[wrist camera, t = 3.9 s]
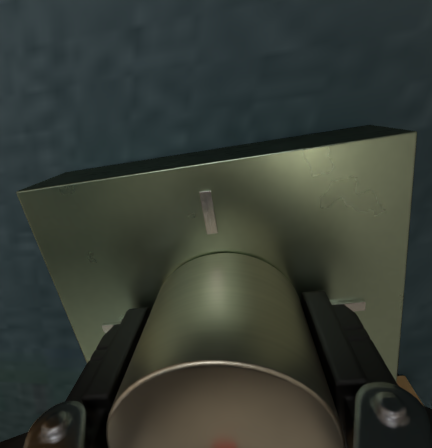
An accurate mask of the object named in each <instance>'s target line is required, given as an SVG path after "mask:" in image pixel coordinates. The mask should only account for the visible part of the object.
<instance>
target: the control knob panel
mask: <svg viewBox="0 0 432 448" xmlns="http://www.w3.org/2000/svg"><path fill="white" fill-rule="evenodd" d="M416 140H417V132H416V131H411V130H403V129H396V128H389V127H381V126H374V125H366V126H360V127H354V128H347V129H341V130H334V131H328V132H321V133H315V134H309V135H302V136H296V137H289V138H283V139H277V140H270V141H264V142H257V143H251V144H244V145H238V146H232V147H225V148H219V149H212V150H206V151H200V152H193V153H187V154H180V155H174V156H168V157H161V158H155V159H148V160H142V161H135V162H129V163H123V164H116V165H110V166H103V167H97V168H91V169H84V170H78V171H71V172H66V173H63V174H60V175H58V176H55V177H53V178H50V179H48V180H45V181H42V182H40V183H37V184H35V185H32V186H30V187H27V188H24V189H22V190H19V191H17V195H18V198H19V200H20V203H21V205H22V208H23V210H24V212H25V215H26V217H27V220H28V222H29V224H30V227H31V229H32V232H33V234H34V236H35V239H36V241H37V244H38V246H39V248H40V251H41V253H42V256H43V258H44V260H45V263H46V265H47V268H48V270H49V272H50V275H51V277H52V280H53V282H54V284H55V287H56V289H57V292H58V294H59V296H60V299H61V301H62V304H63V306H64V309H65V311H66V313H67V316H68V318H69V321H70V323H71V325H72V328H73V330H74V333H75V335H76V337H77V340H78V342H79V345H80V347H81V349H82V352H83V354H84V357H85V359H86V361H87V363H88V361H90V358H91V356H92V354H93V353H94V351H95V350H96V347H97V346H98V344H99V342H100V340H101V339H102V337H103V335H104V334H105V333H107V332H108V331H109V330H110V329H111V328H112V327H113V326H114V325H116V324H120V323H121V321H122V320H123V318H124V316H125V314H126V312H127V310H128V309H132V308H143V307H151V309H152V308H153V305H154V303H155V300H156V298H157V295H158V293H159V291H160V289H161V287H162V285H163V284H164V282H165V281H166V279H167V278H168V277H169V276H170V275H171V274H172V273H173V272H174V271H175V270H176V269H178V268H179V267H180V266H182V265H184V264H185V263H187V262H189V261H191V260H193V259H196V258H199V257H202V256H205V255H210V254H216V253H237V254H243V255H248V256H251V257H254V258H257V259H259V260H262V261H264V262H266V263H268V264H270V265H271V266H273V267H275V268H276V269H277V270H279V271H280V272H281V273H282V274H283V275H284V276H285V277H286V278H287V279H288V280H289V281H290V282H291V284H292V285H293V287H294V288H295V290H296V292H297V294H298V296H299V299H300V302H301V305H302V301H301V293H302V292H311V291H321V290H324V291H325V292H326V294H327V296H328V298H329V300H330V302H331V304H332V305H339V304H344V305H345V306H347V307H348V308H349V309H351V310H352V311H353V312H355V313H356V314H357V316H358V318H359V319H360V321H361V323H362V324H363V326H364V329H365V330H366V331H367V333H368V335H369V336H370V340H372V341H373V343H374V345H375V347H376V348H377V350H378V352H379V353H380V355H381V357H382V359H383V360H384V362H385V364H386V365H387V367H388V369H389V371H390V372H391V374H392V376H393V377H394V379H395V381H396V382H397V371H398V358H399V346H400V334H401V322H402V310H403V298H404V286H405V273H406V261H407V249H408V237H409V225H410V213H411V201H412V188H413V176H414V164H415V152H416Z"/></svg>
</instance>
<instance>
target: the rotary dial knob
mask: <svg viewBox="0 0 432 448" xmlns="http://www.w3.org/2000/svg"><path fill="white" fill-rule="evenodd" d="M106 439H107V446H108V448H345V438H344V432H343V428H342V425H341V422H340V419H339V416H338V413H337V410H336V407H335V404H334V401H333V398H332V395H331V392H330V389H329V386H328V383H327V380H326V377H325V374H324V371H323V368H322V365H321V362H320V359H319V356H318V353H317V350H316V347H315V344H314V341H313V338H312V335H311V332H310V329H309V326H308V323H307V320H306V317H305V314H304V311H303V308H302V305H301V302H300V299H299V296H298V294H297V292H296V290H295V288H294V287H293V285H292V284H291V282H290V281H289V280H288V279H287V278H286V277H285V276H284V275H283V274H282V273H281V272H280V271H279V270H277V269H276V268H275V267H273V266H271V265H270V264H268V263H266V262H264V261H262V260H259V259H257V258H254V257H251V256H248V255H243V254H237V253H216V254H210V255H205V256H202V257H199V258H196V259H193V260H191V261H189V262H187V263H185V264H184V265H182V266H180V267H179V268H178V269H176V270H175V271H174V272H173V273H172V274H171V275H170V276H169V277H168V278H167V279H166V281H165V282H164V284H163V285H162V287H161V289H160V291H159V293H158V295H157V298H156V300H155V303H154V305H153V308H152V310H151V312H150V315H149V317H148V320H147V322H146V325H145V327H144V329H143V332H142V334H141V337H140V339H139V342H138V344H137V346H136V349H135V351H134V354H133V356H132V359H131V361H130V363H129V366H128V368H127V371H126V373H125V376H124V378H123V380H122V383H121V385H120V388H119V390H118V393H117V395H116V397H115V400H114V402H113V405H112V407H111V410H110V412H109V415H108V419H107V423H106Z"/></svg>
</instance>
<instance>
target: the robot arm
mask: <svg viewBox="0 0 432 448" xmlns="http://www.w3.org/2000/svg"><path fill="white" fill-rule="evenodd" d="M301 301H302V308H303V311H304V314H305V317H306V320H307V323H308V326H309V329H310V332H311V335H312V338H313V341H314V344H315V347H316V350H317V353H318V356H319V359H320V362H321V365H322V368H323V371H324V374H325V377H326V380H327V383H328V386H329V389H330V392H331V395H332V398H333V401H334V404H335V407H336V410H337V413H338V416H339V419H340V422H341V425H342V428H343V432H344V438H345V448H432V409H430V408H428V407H425V406H423V405H422V404H421V403H420V401H419V400H418V399H417V398H416V397H415V396H413V395H412V394H411V393H409V392H408V391H407V390H405V389H403V388H401V387H399V385H398V384H397V382H396V381H395V379H394V377H393V376H392V374H391V372H390V371H389V369H388V367H387V365H386V364H385V362H384V360H383V359H382V357H381V355H380V353H379V352H378V350H377V348H376V347H375V345H374V343H373V341H372V340H370V336H369V335H368V333H367V331H366V330H365V329H364V326H363V324H362V323H361V321H360V319H359V318H358V316H357V314H356V313H355V312H353V311H352V310H351V309H349V308H348V307H347V306H345V305H344V304H339V305H332V304H331V302H330V300H329V298H328V296H327V294H326V292H325V291H324V290H321V291H311V292H302V293H301ZM151 310H152V309H151V307H143V308H132V309H128V310H127V312H126V314H125V316H124V318H123V320H122V321H121V323H120V324H116V325H114V326H113V327H112V328H111V329H110V330H109V331H108V332H107V333H105V334H104V335H103V337H102V339H101V340H100V342H99V344H98V346H97V347H96V350H95V351H94V353H93V354H92V356H91V358H90V361H88V363H87V365H86V366H85V368H84V370H83V372H82V373H81V375H80V377H79V379H78V380H77V382H76V384H75V386H74V387H73V389H72V391H71V392H70V394H69V396H68V398H67V399H66V401H65V402H62V403H59V404H57V405H55V406H53V407H52V408H50V409H49V410H47V411H46V412H45V413H43V414H42V415H41V416H40V417H39V418H38V419H37V420H36V421H35V423H34V424H33V425H32V427H31V428H30V430H29V432H27V433H24V434H22V435H19V436H16V437H13V438H11V439H8V440H5V441H2V442H0V448H108V446H107V439H106V423H107V419H108V415H109V412H110V410H111V407H112V405H113V402H114V400H115V397H116V395H117V393H118V390H119V388H120V385H121V383H122V380H123V378H124V376H125V373H126V371H127V368H128V366H129V363H130V361H131V359H132V356H133V354H134V351H135V349H136V346H137V344H138V342H139V339H140V337H141V334H142V332H143V329H144V327H145V325H146V322H147V320H148V317H149V315H150V312H151Z"/></svg>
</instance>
